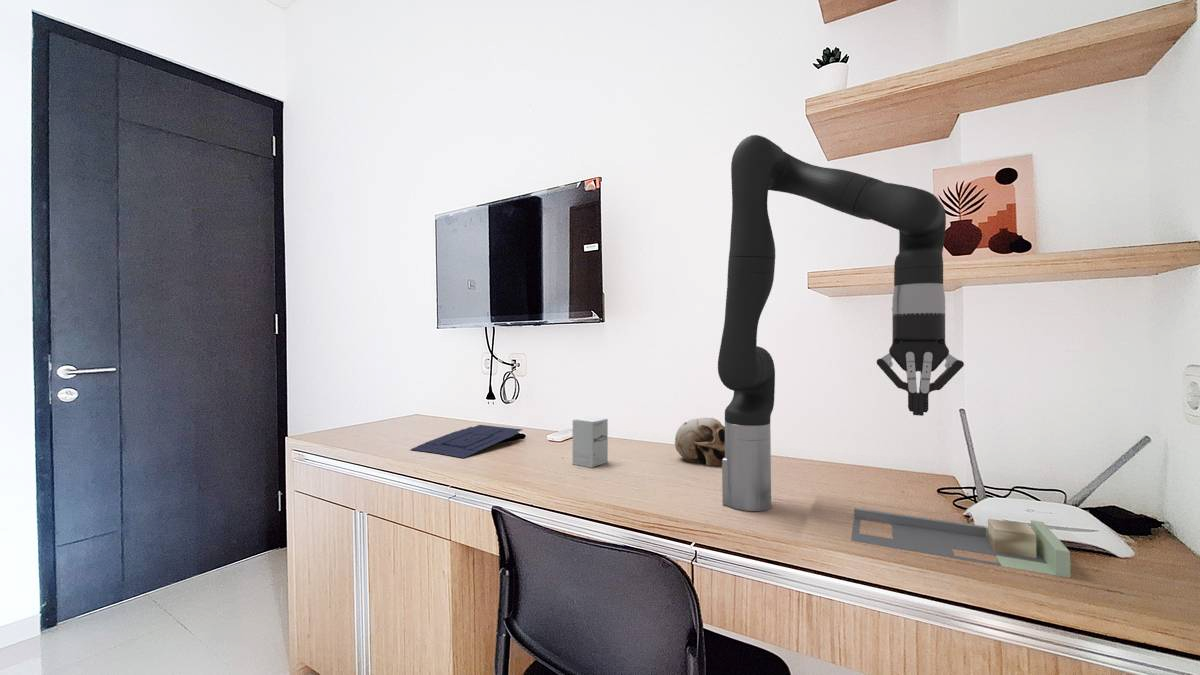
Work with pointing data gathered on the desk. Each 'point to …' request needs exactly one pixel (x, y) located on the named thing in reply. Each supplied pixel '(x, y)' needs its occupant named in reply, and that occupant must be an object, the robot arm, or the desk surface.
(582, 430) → the supplement box
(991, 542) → the maple block
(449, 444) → the navy blue folder
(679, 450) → the human skull
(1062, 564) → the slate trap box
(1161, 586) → the desk surface
